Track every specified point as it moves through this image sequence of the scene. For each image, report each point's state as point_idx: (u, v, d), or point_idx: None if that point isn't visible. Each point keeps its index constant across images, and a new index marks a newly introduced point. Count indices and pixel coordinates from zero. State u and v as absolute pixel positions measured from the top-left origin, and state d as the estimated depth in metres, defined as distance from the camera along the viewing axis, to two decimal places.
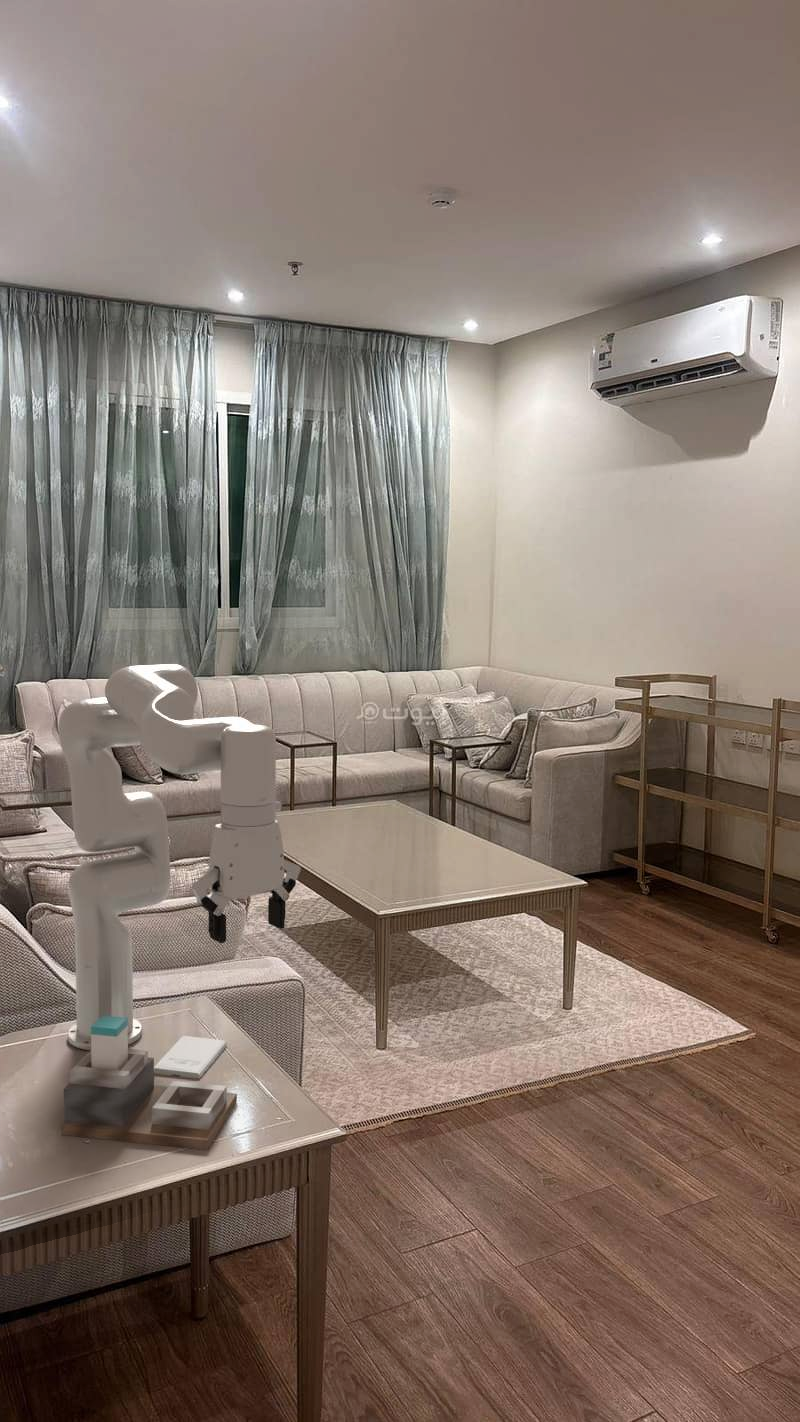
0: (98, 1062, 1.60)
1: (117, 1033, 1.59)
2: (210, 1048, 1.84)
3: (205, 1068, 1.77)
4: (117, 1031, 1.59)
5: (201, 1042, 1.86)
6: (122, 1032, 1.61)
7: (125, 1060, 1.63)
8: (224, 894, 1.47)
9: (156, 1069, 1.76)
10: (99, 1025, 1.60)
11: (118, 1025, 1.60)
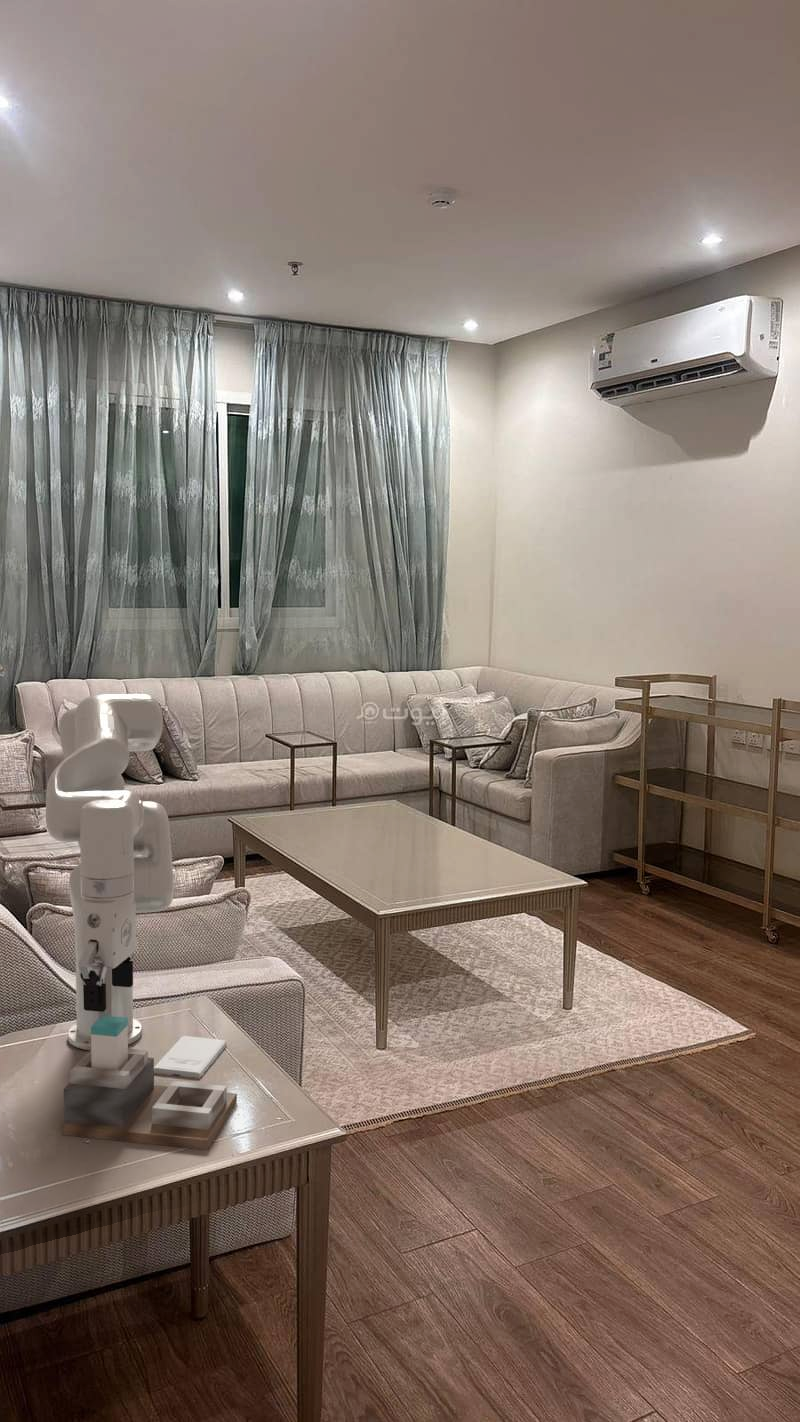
0: (98, 1062, 1.60)
1: (117, 1033, 1.59)
2: (210, 1048, 1.84)
3: (205, 1067, 1.78)
4: (117, 1031, 1.59)
5: (201, 1042, 1.86)
6: (122, 1032, 1.61)
7: (125, 1060, 1.63)
8: None
9: (156, 1069, 1.76)
10: (99, 1025, 1.60)
11: (118, 1025, 1.60)
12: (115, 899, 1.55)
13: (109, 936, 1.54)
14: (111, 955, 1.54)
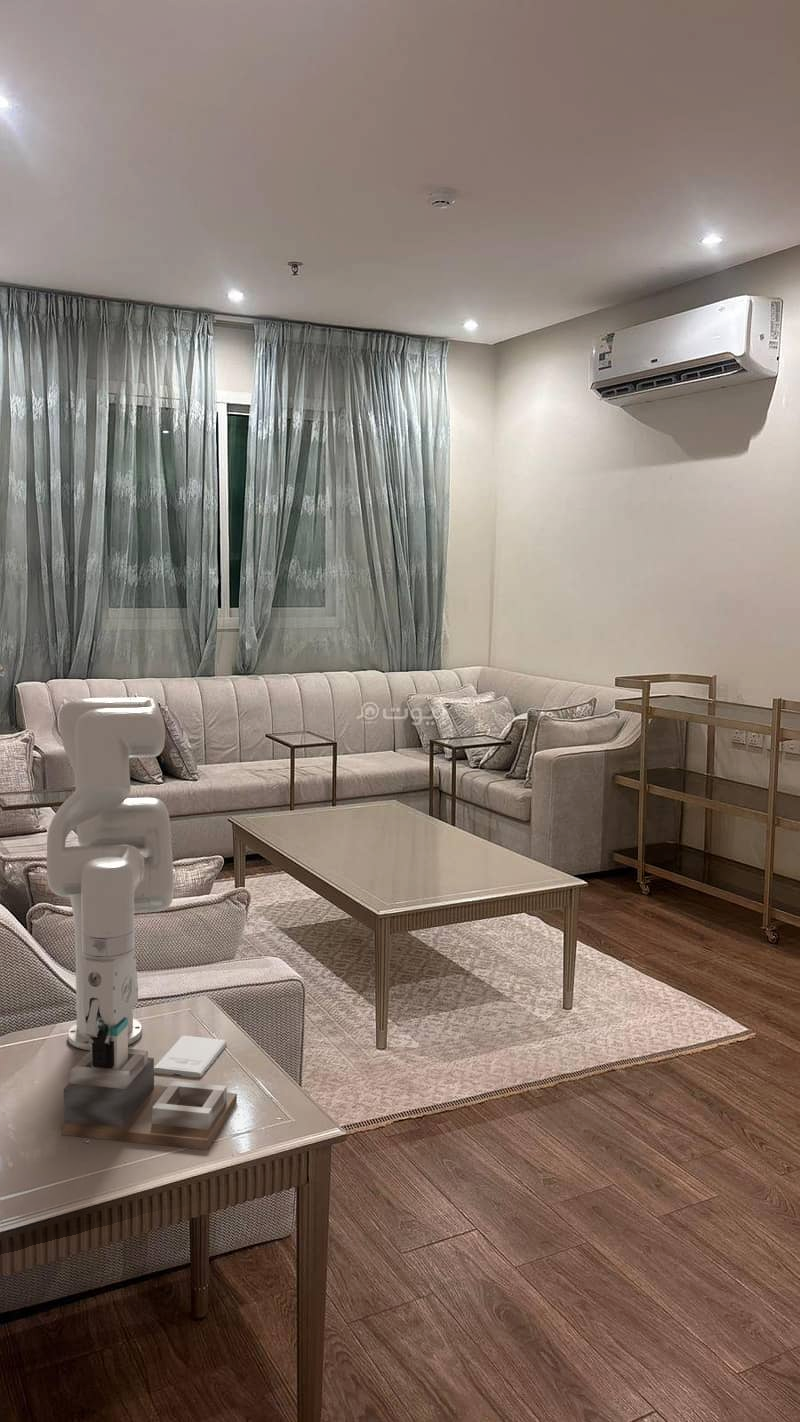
0: None
1: (117, 1033, 1.59)
2: (210, 1048, 1.84)
3: (206, 1067, 1.78)
4: (117, 1031, 1.59)
5: (201, 1042, 1.86)
6: (122, 1032, 1.61)
7: (125, 1060, 1.63)
8: None
9: (157, 1069, 1.76)
10: None
11: (118, 1024, 1.60)
12: (116, 957, 1.57)
13: (110, 995, 1.55)
14: (112, 1013, 1.56)
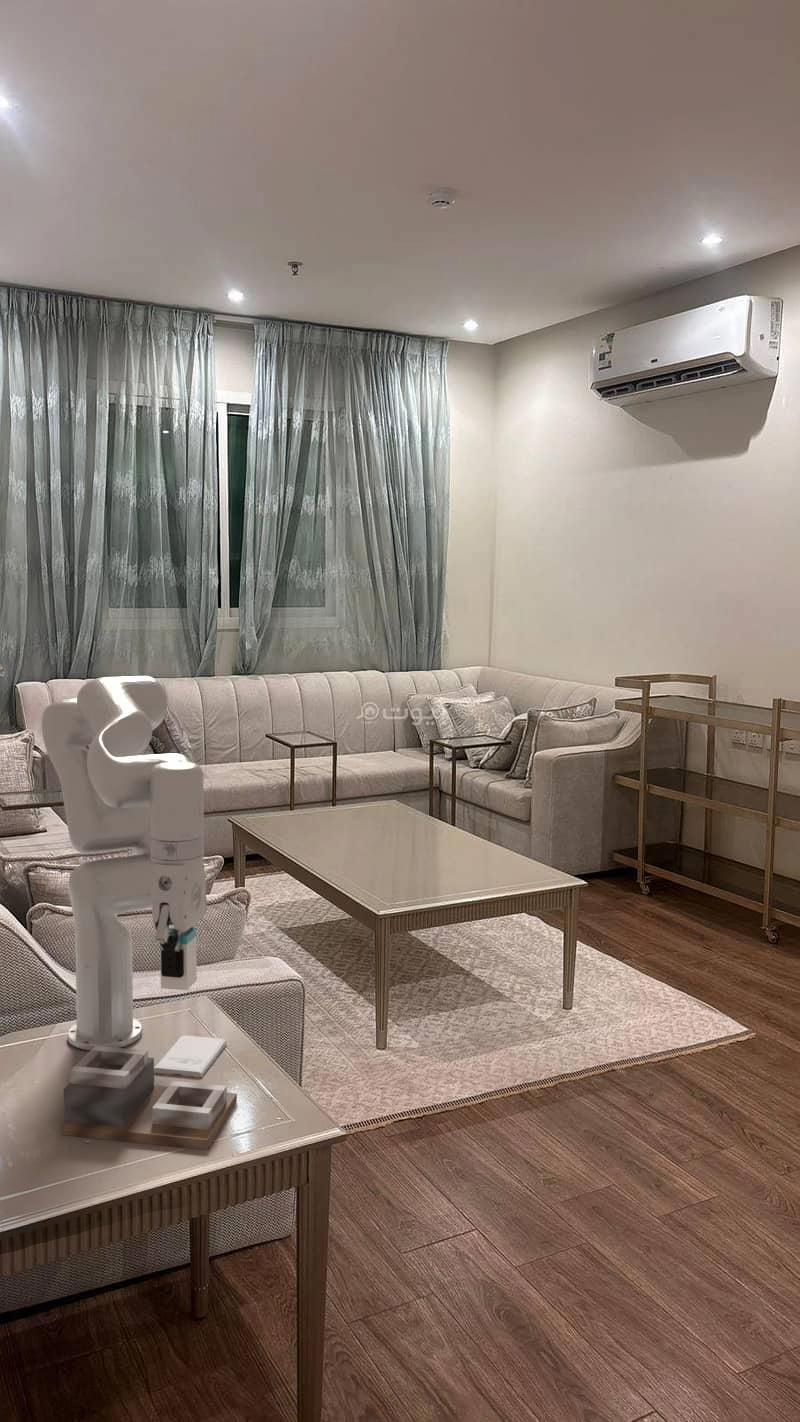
0: None
1: (187, 941, 1.56)
2: (210, 1047, 1.84)
3: (206, 1067, 1.78)
4: (187, 939, 1.56)
5: (201, 1041, 1.86)
6: (191, 941, 1.57)
7: (194, 971, 1.59)
8: None
9: (157, 1069, 1.77)
10: (169, 934, 1.56)
11: (187, 933, 1.57)
12: (186, 862, 1.53)
13: (180, 899, 1.52)
14: (182, 918, 1.52)
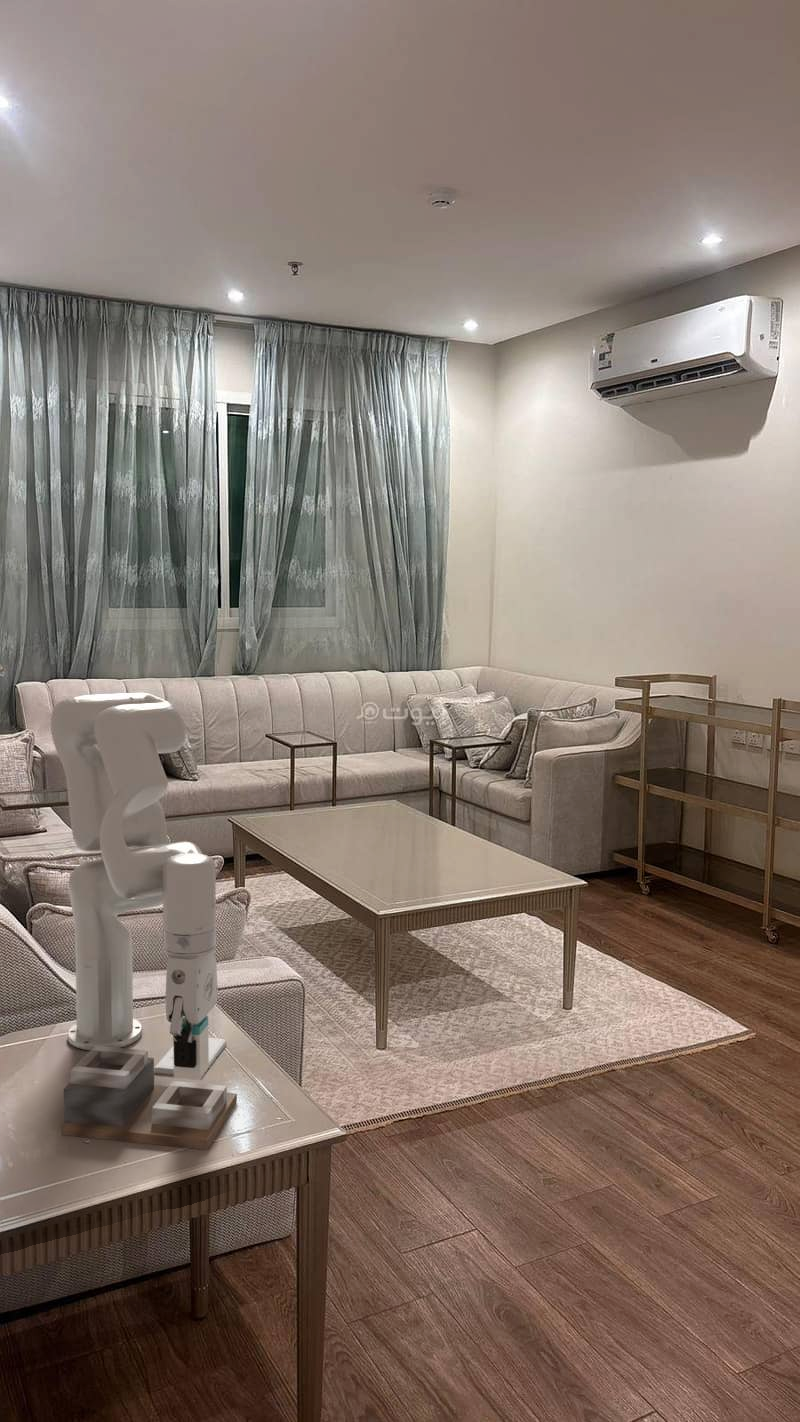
0: None
1: (200, 1032, 1.57)
2: (210, 1047, 1.84)
3: None
4: (200, 1029, 1.57)
5: None
6: (204, 1031, 1.59)
7: (206, 1059, 1.61)
8: None
9: (158, 1068, 1.77)
10: None
11: (200, 1023, 1.58)
12: (199, 955, 1.55)
13: (194, 992, 1.53)
14: (196, 1011, 1.54)
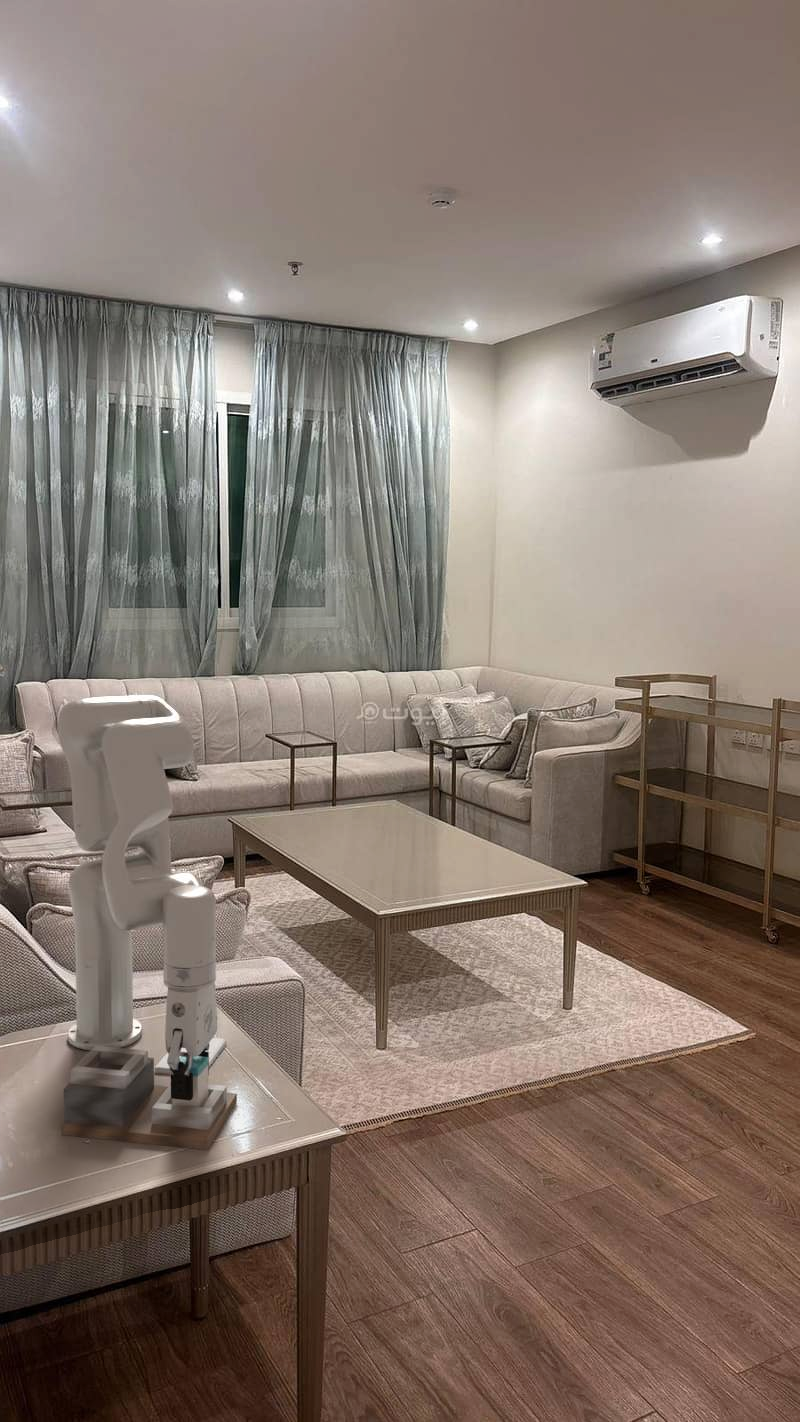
0: (179, 1102, 1.59)
1: (198, 1073, 1.58)
2: (211, 1047, 1.84)
3: None
4: (198, 1071, 1.58)
5: None
6: (203, 1072, 1.60)
7: (205, 1100, 1.62)
8: None
9: (158, 1068, 1.77)
10: None
11: (199, 1064, 1.59)
12: (199, 987, 1.55)
13: (193, 1025, 1.54)
14: (195, 1044, 1.54)
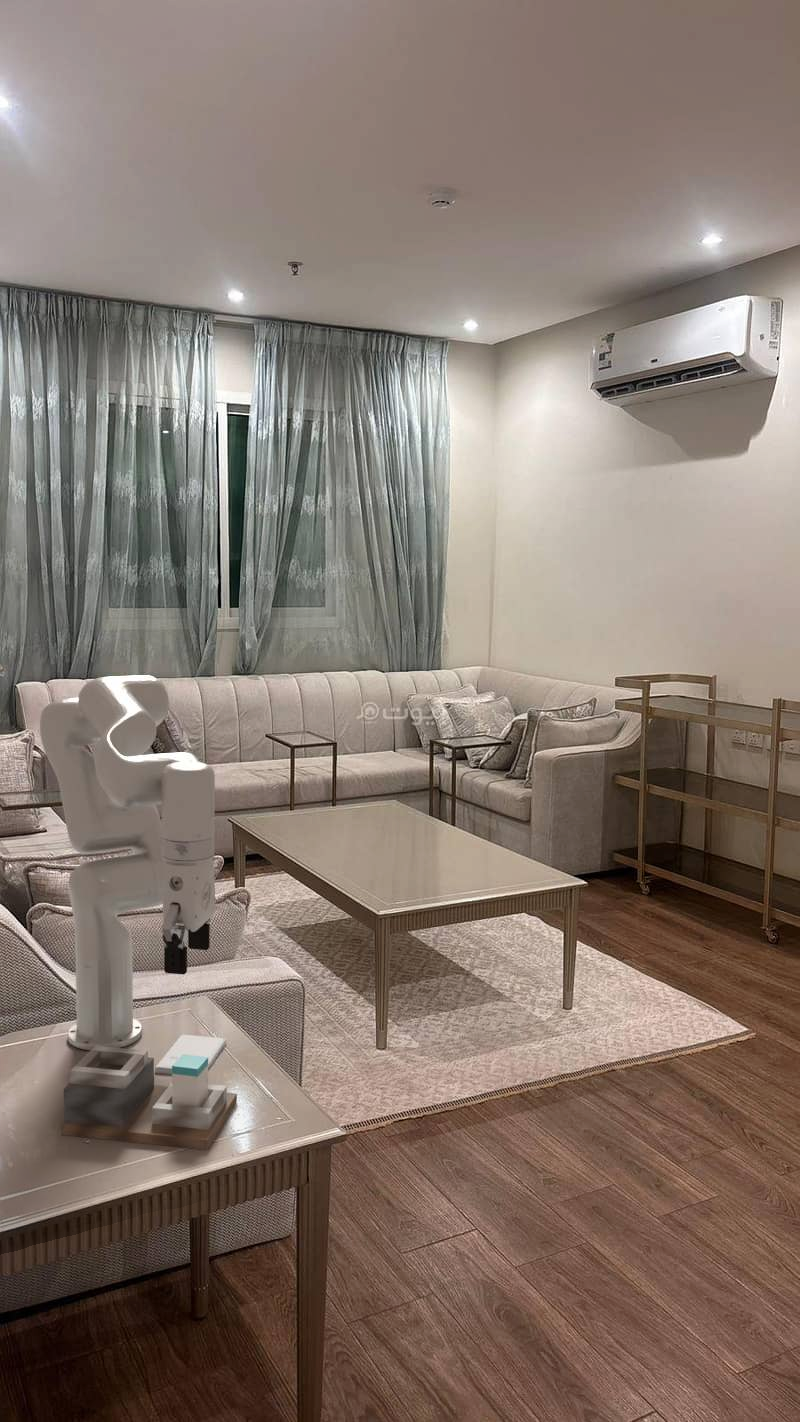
0: (179, 1102, 1.59)
1: (198, 1073, 1.58)
2: (211, 1046, 1.84)
3: (208, 1066, 1.78)
4: (198, 1071, 1.58)
5: (201, 1040, 1.87)
6: (203, 1072, 1.60)
7: (205, 1100, 1.62)
8: None
9: (159, 1068, 1.77)
10: (180, 1065, 1.59)
11: (199, 1064, 1.59)
12: (197, 862, 1.54)
13: (191, 899, 1.53)
14: (193, 918, 1.53)
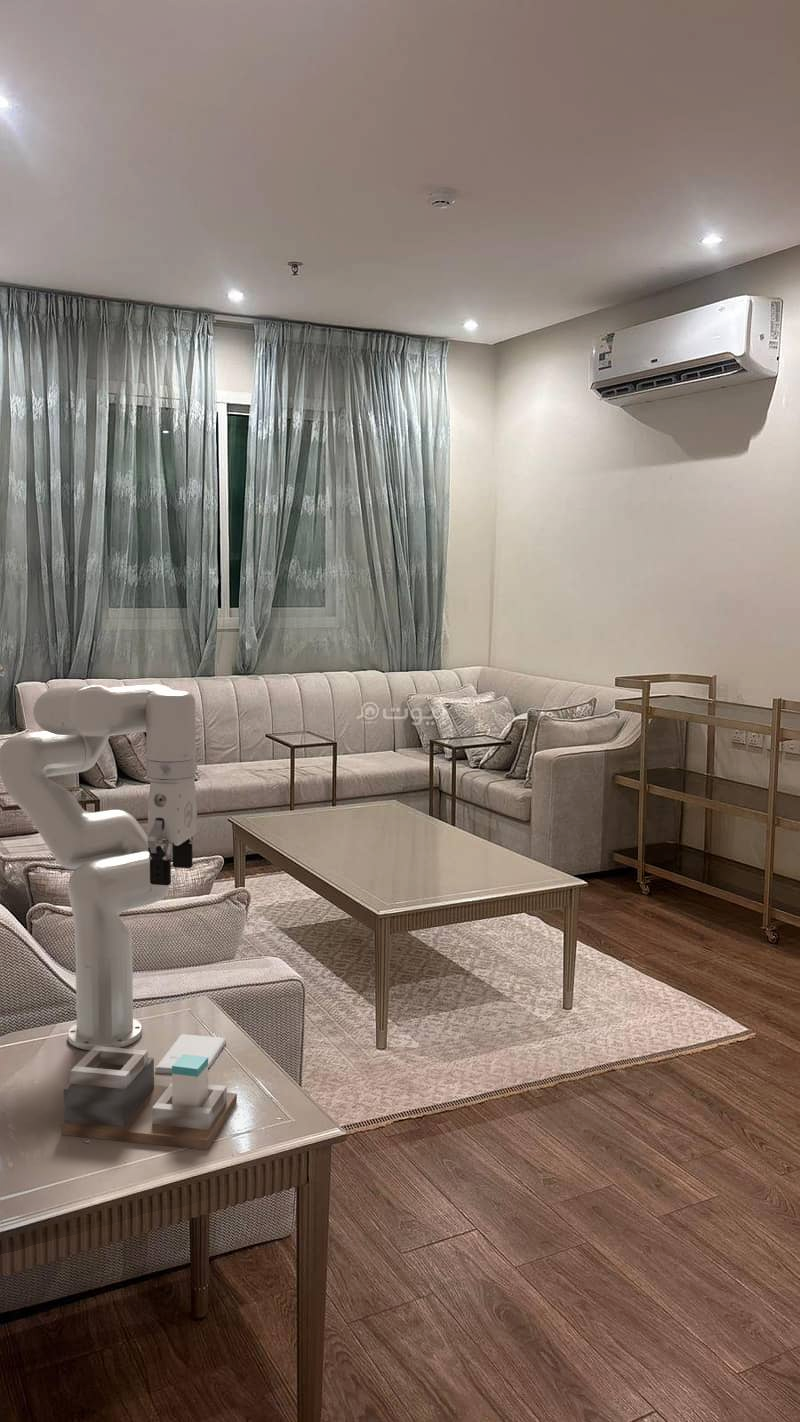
0: (179, 1102, 1.59)
1: (198, 1073, 1.58)
2: (211, 1046, 1.85)
3: (208, 1066, 1.78)
4: (198, 1071, 1.58)
5: (201, 1040, 1.87)
6: (203, 1072, 1.60)
7: (205, 1100, 1.62)
8: None
9: (159, 1068, 1.77)
10: (180, 1065, 1.59)
11: (199, 1064, 1.59)
12: (179, 781, 1.67)
13: (174, 815, 1.65)
14: (176, 832, 1.66)
